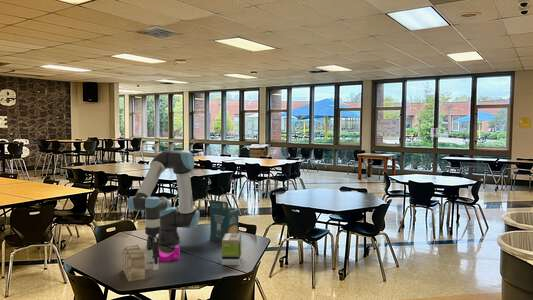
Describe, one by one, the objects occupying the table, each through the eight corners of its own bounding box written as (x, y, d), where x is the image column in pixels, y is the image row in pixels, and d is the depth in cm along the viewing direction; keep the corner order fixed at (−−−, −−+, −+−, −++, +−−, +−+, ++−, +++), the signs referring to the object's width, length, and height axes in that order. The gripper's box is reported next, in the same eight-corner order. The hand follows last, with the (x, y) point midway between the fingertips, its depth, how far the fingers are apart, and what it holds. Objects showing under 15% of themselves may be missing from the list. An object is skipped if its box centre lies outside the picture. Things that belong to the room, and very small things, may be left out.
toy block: (151, 262, 231) (151, 249, 231) (153, 258, 237) (153, 246, 237) (177, 261, 232) (177, 248, 232) (179, 258, 239) (179, 245, 238)
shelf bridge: (122, 270, 217) (122, 245, 216) (138, 267, 221) (137, 243, 220) (128, 281, 200) (128, 255, 200) (144, 279, 204) (144, 252, 204)
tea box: (225, 257, 241) (225, 232, 240) (241, 257, 241) (241, 232, 240) (221, 265, 226) (221, 239, 225) (239, 265, 226) (239, 239, 225)
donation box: (209, 239, 278) (209, 199, 277) (225, 234, 291) (225, 196, 290) (227, 243, 269) (227, 202, 268) (242, 238, 282) (242, 198, 281)
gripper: (140, 222, 223) (141, 259, 224) (150, 232, 201) (150, 274, 202) (154, 220, 227) (154, 257, 228) (165, 230, 205) (165, 271, 206)
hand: (152, 265), depth 215 cm, fingers open, 13 cm apart
